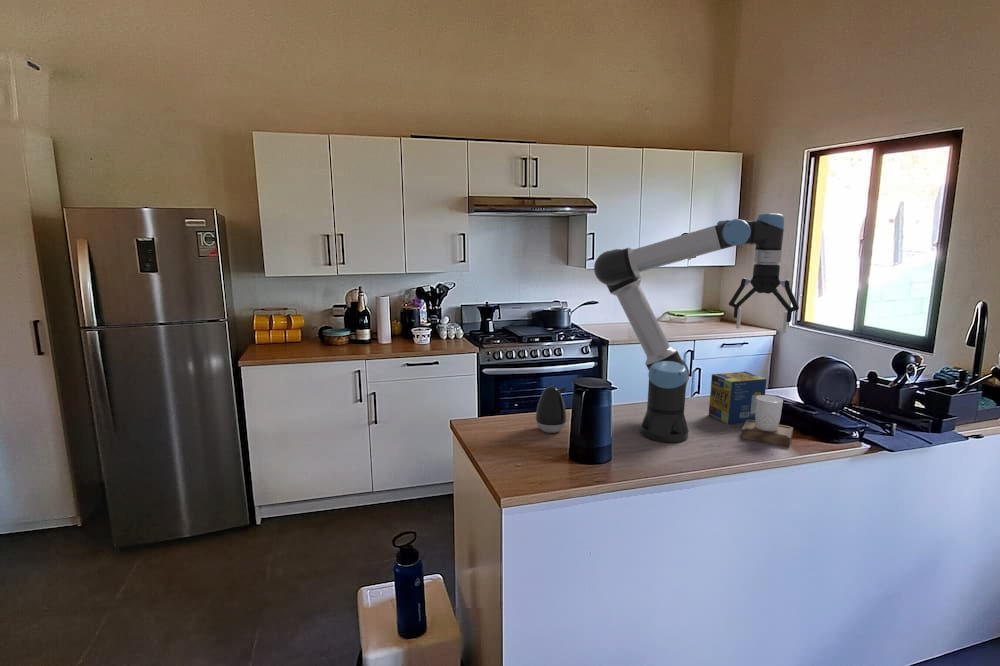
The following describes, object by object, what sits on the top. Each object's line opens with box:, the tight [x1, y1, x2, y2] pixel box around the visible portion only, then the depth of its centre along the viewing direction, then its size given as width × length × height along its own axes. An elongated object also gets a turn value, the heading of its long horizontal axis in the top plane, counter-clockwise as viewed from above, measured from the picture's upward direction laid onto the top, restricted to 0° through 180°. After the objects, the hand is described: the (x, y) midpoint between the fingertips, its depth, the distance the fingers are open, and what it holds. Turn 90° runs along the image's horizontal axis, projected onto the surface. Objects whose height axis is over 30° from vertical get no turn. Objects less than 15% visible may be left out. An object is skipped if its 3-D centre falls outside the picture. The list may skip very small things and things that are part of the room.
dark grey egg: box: [535, 385, 567, 434], centre depth 182 cm, size 10×10×15 cm
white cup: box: [755, 394, 784, 432], centre depth 177 cm, size 8×8×10 cm
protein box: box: [708, 371, 767, 425], centre depth 196 cm, size 10×15×16 cm
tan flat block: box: [740, 420, 794, 448], centre depth 178 cm, size 14×11×3 cm
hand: (760, 330), depth 177 cm, fingers open, 13 cm apart
